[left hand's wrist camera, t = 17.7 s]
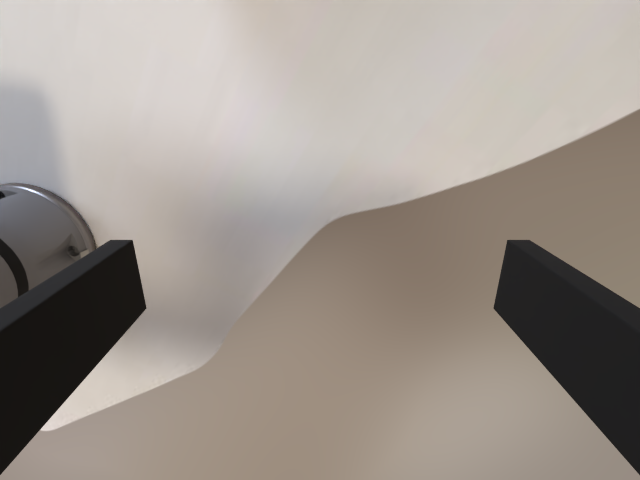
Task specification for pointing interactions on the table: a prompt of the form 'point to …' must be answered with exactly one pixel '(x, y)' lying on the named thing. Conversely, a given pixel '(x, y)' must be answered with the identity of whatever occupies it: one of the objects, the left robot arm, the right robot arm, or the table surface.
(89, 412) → the table surface
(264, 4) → the table surface
